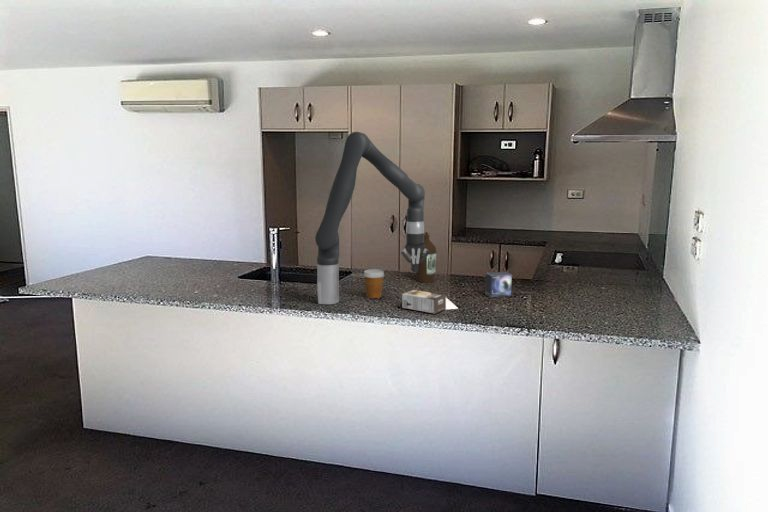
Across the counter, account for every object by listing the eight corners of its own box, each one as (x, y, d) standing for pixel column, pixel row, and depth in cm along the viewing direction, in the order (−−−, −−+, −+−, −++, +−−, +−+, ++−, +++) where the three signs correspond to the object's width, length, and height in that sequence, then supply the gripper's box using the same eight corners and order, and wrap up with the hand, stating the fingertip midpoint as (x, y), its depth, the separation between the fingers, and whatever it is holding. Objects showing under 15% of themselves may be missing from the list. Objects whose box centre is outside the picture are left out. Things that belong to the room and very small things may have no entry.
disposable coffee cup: (360, 295, 267) (360, 270, 265) (380, 293, 270) (380, 268, 268) (367, 300, 258) (367, 274, 256) (387, 298, 262) (387, 272, 259)
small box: (490, 298, 261) (491, 275, 260) (484, 295, 268) (484, 272, 266) (511, 296, 264) (512, 274, 262) (505, 293, 270) (505, 271, 269)
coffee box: (413, 289, 250) (446, 294, 241) (413, 303, 251) (446, 309, 242) (401, 293, 243) (435, 299, 234) (401, 308, 244) (435, 314, 235)
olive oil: (410, 280, 297) (411, 232, 292) (424, 277, 304) (425, 230, 300) (426, 284, 289) (426, 234, 285) (440, 280, 297) (441, 232, 292)
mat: (420, 310, 242) (420, 309, 242) (411, 299, 259) (411, 299, 259) (457, 308, 244) (457, 307, 244) (446, 298, 262) (446, 297, 262)
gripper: (401, 233, 240) (401, 274, 243) (432, 232, 242) (432, 273, 245) (397, 231, 247) (397, 271, 250) (428, 230, 249) (427, 269, 252)
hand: (414, 272), depth 248 cm, fingers closed
